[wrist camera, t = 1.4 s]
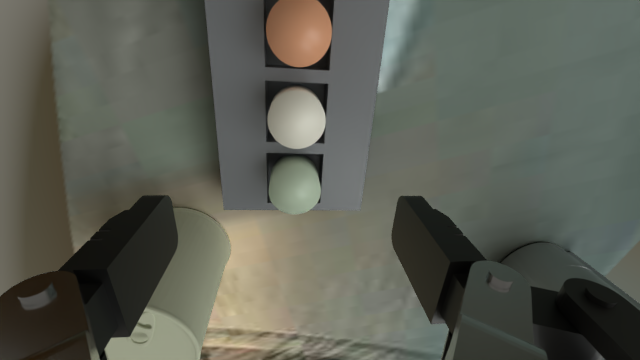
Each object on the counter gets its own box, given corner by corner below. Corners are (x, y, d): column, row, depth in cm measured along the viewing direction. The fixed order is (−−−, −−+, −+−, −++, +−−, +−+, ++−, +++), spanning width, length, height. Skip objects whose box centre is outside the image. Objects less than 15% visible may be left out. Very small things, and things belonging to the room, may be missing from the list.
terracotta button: (328, 2, 20) (334, -4, 17) (324, 65, 22) (329, 68, 19) (268, -3, 20) (265, -10, 17) (269, 62, 21) (266, 65, 19)
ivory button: (323, 86, 22) (327, 92, 20) (320, 137, 24) (323, 149, 21) (269, 83, 22) (266, 89, 19) (270, 135, 24) (267, 148, 21)
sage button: (319, 154, 25) (322, 168, 22) (316, 196, 26) (319, 214, 24) (270, 153, 24) (268, 167, 21) (271, 196, 26) (268, 214, 23)
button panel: (378, -6, 22) (391, -12, 19) (354, 194, 29) (360, 210, 27) (213, -20, 21) (201, -29, 18) (230, 193, 28) (223, 209, 25)
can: (245, 229, 30) (220, 336, 19) (210, 290, 33) (171, 412, 22) (153, 191, 27) (62, 291, 16) (124, 261, 30) (32, 384, 19)
